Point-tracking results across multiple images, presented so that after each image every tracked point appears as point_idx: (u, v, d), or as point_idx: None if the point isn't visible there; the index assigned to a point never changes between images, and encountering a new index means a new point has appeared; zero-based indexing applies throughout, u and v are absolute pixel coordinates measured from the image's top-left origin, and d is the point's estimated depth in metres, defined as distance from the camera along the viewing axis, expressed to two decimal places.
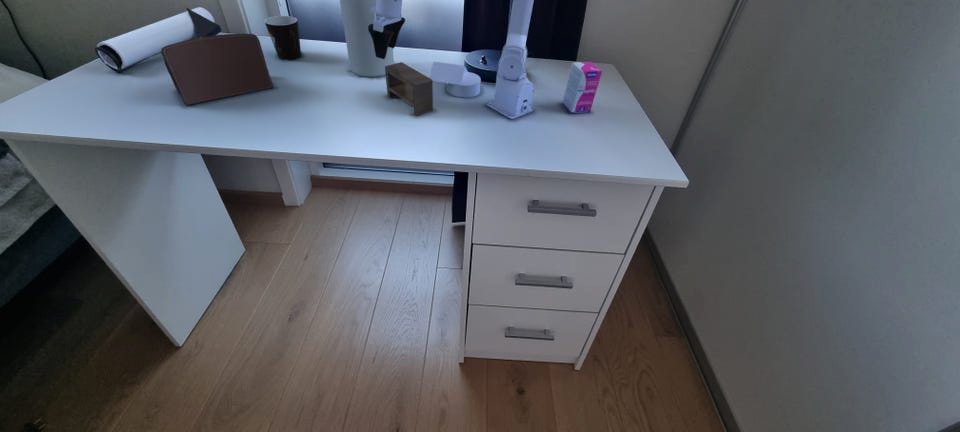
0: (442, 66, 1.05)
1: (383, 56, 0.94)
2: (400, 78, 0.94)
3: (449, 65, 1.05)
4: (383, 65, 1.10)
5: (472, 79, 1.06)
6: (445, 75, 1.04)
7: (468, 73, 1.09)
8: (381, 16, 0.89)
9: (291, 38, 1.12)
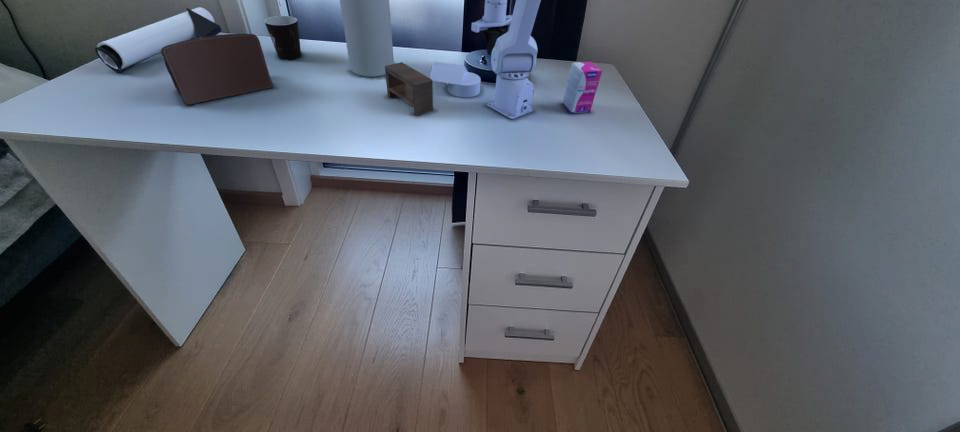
0: (442, 66, 1.05)
1: (491, 53, 1.10)
2: (400, 78, 0.94)
3: (449, 65, 1.05)
4: (383, 65, 1.10)
5: (472, 79, 1.06)
6: (445, 75, 1.04)
7: (468, 73, 1.09)
8: (484, 21, 1.04)
9: (291, 38, 1.12)
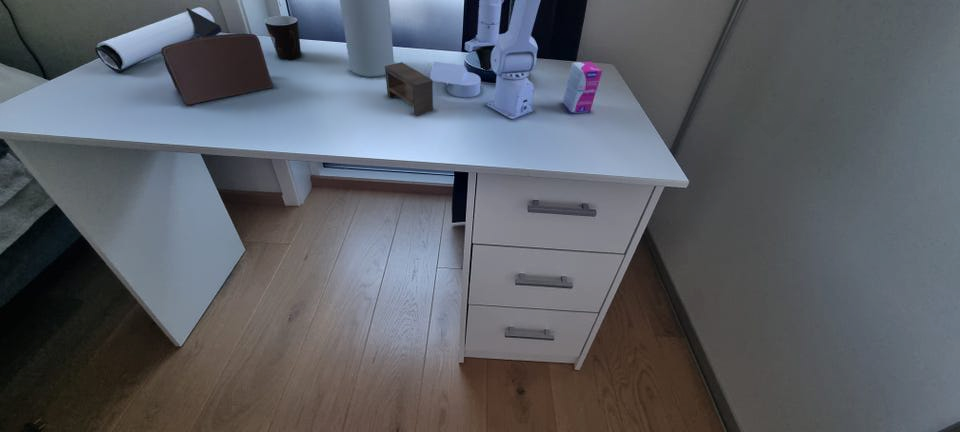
0: (442, 66, 1.05)
1: None
2: (400, 78, 0.94)
3: (449, 65, 1.05)
4: (383, 65, 1.10)
5: (472, 79, 1.06)
6: (445, 75, 1.04)
7: (468, 73, 1.09)
8: (478, 40, 1.06)
9: (291, 38, 1.12)
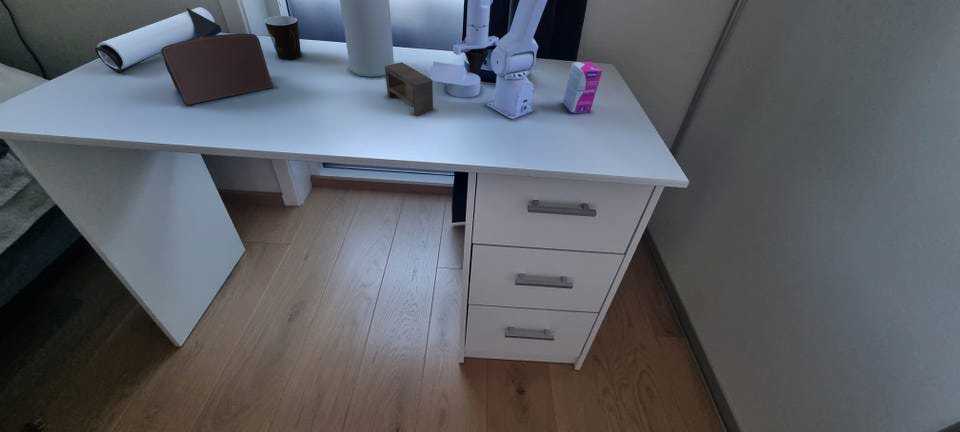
0: (441, 66, 1.05)
1: None
2: (400, 78, 0.94)
3: (449, 65, 1.05)
4: (383, 65, 1.10)
5: (471, 79, 1.06)
6: (445, 75, 1.04)
7: (468, 73, 1.09)
8: (466, 43, 1.04)
9: (291, 38, 1.12)
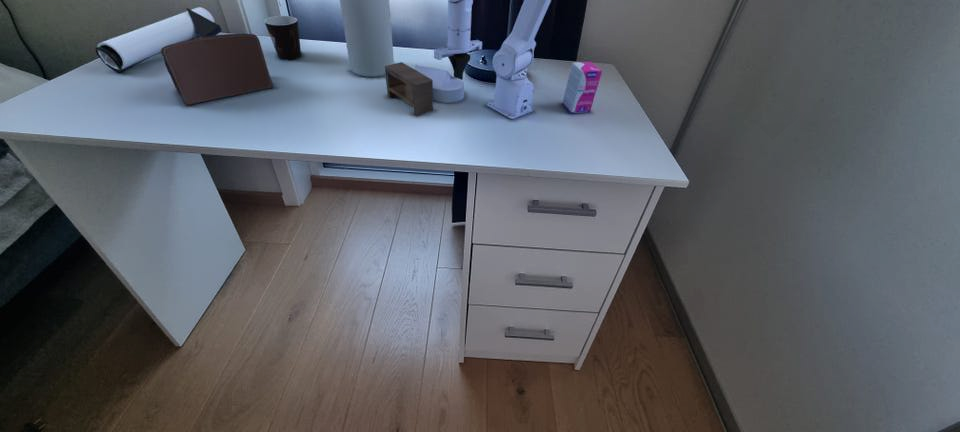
0: (424, 69, 1.02)
1: None
2: (400, 78, 0.94)
3: (431, 69, 1.02)
4: (383, 65, 1.10)
5: (455, 84, 1.03)
6: None
7: (452, 78, 1.06)
8: (448, 47, 1.00)
9: (291, 38, 1.12)
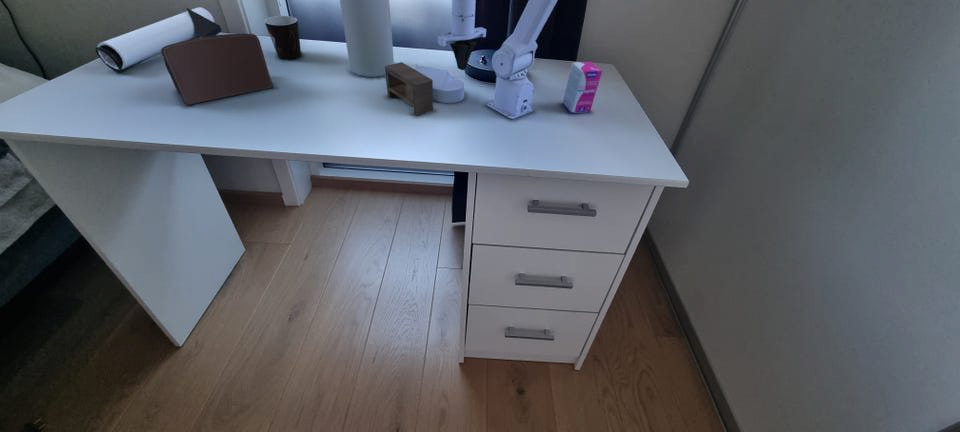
0: (424, 70, 1.02)
1: (461, 67, 1.05)
2: (400, 78, 0.94)
3: (432, 69, 1.02)
4: (383, 65, 1.10)
5: (455, 84, 1.03)
6: None
7: (453, 78, 1.06)
8: (452, 34, 0.99)
9: (291, 38, 1.12)
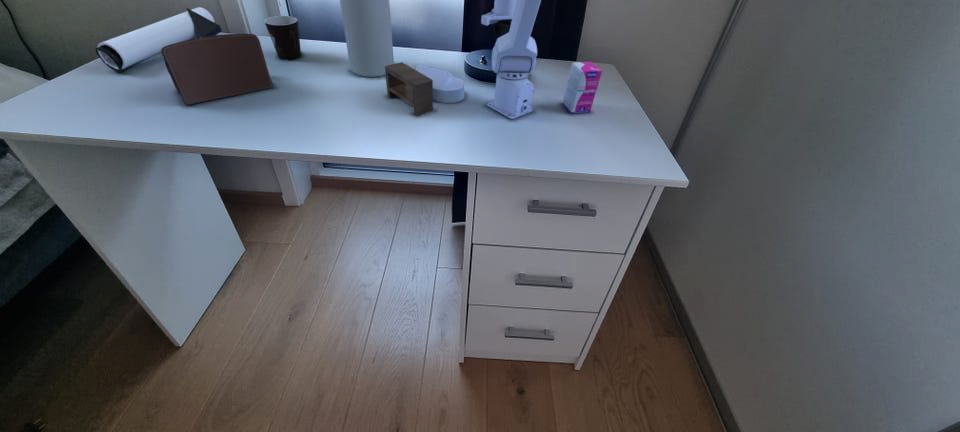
0: (424, 70, 1.02)
1: None
2: (400, 78, 0.94)
3: (432, 69, 1.02)
4: (383, 65, 1.10)
5: (455, 84, 1.03)
6: None
7: (453, 78, 1.06)
8: None
9: (291, 38, 1.12)
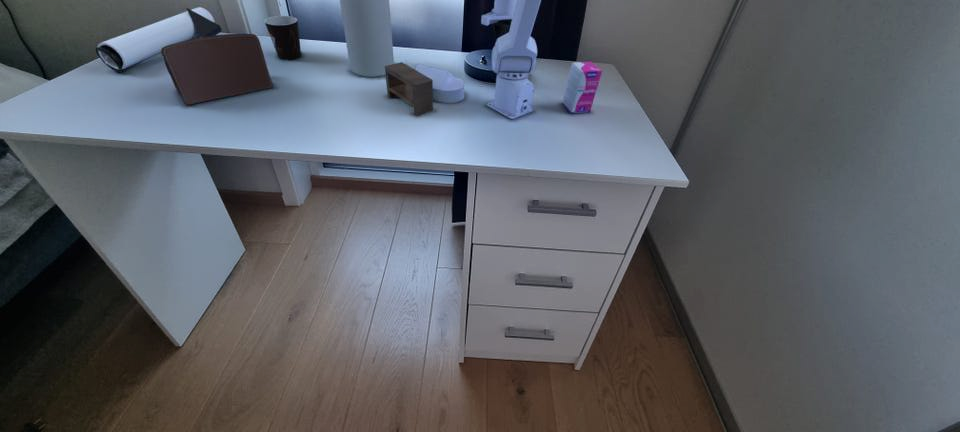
0: (424, 70, 1.02)
1: None
2: (400, 78, 0.94)
3: (432, 69, 1.02)
4: (383, 65, 1.10)
5: (455, 84, 1.03)
6: None
7: (453, 78, 1.06)
8: None
9: (291, 38, 1.12)
